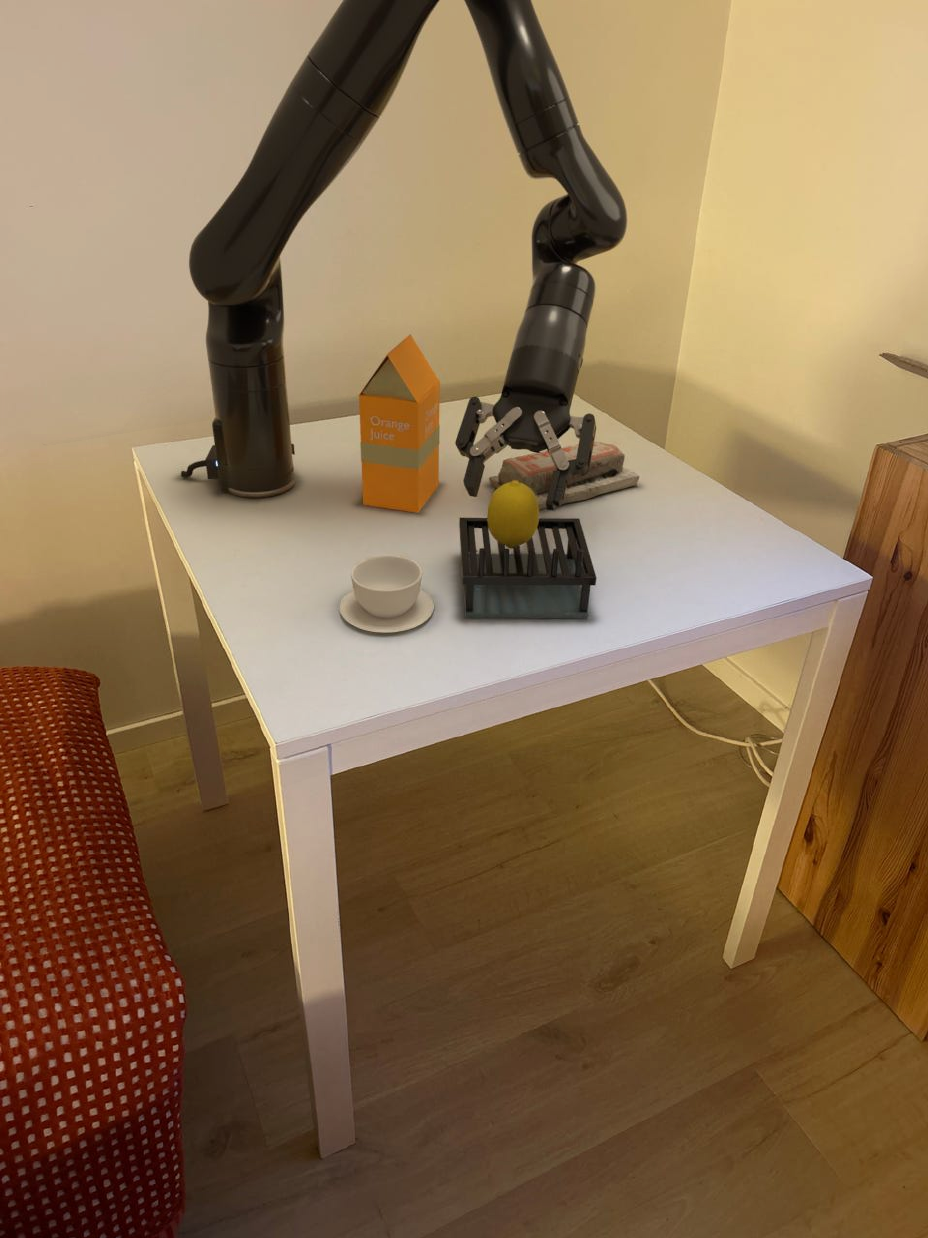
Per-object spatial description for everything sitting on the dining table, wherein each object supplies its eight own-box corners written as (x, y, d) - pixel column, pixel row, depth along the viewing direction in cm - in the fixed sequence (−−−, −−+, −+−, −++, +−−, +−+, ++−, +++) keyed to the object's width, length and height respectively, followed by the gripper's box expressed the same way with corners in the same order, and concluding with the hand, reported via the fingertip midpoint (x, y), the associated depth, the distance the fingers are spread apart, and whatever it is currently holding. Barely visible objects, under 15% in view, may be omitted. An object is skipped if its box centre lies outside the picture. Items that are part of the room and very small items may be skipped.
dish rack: (461, 619, 98) (463, 551, 93) (458, 556, 109) (459, 493, 104) (591, 619, 98) (599, 551, 94) (575, 557, 109) (582, 494, 105)
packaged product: (531, 480, 115) (489, 451, 123) (529, 515, 118) (488, 485, 125) (643, 453, 123) (598, 428, 130) (639, 486, 126) (594, 460, 133)
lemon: (542, 541, 102) (547, 474, 98) (528, 564, 98) (533, 496, 94) (494, 532, 104) (497, 466, 99) (479, 555, 99) (481, 487, 95)
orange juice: (439, 485, 125) (441, 336, 114) (419, 513, 118) (418, 357, 107) (384, 477, 127) (381, 329, 116) (361, 504, 119) (355, 350, 108)
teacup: (451, 618, 98) (452, 580, 95) (367, 646, 93) (366, 607, 91) (404, 576, 105) (403, 540, 102) (324, 600, 100) (321, 563, 97)
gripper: (476, 334, 98) (438, 477, 95) (609, 351, 94) (574, 500, 91) (488, 368, 105) (453, 502, 102) (613, 385, 101) (580, 524, 99)
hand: (510, 501), depth 97 cm, fingers open, 8 cm apart
